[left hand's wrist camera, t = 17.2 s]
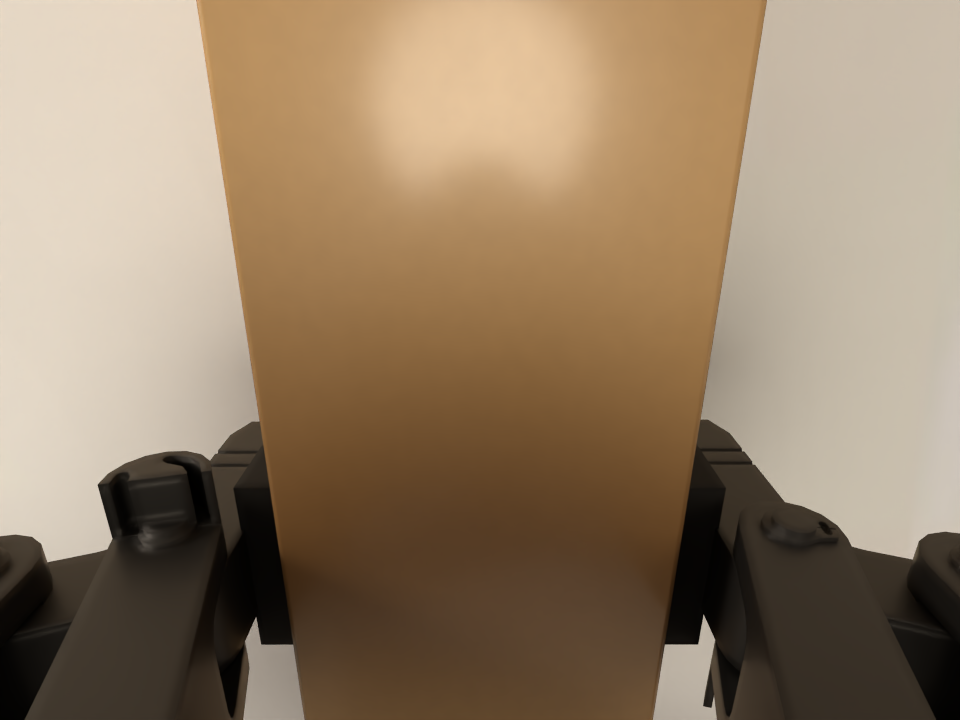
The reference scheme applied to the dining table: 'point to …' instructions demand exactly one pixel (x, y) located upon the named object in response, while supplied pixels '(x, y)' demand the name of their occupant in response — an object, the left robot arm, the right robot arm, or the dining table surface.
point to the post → (480, 330)
